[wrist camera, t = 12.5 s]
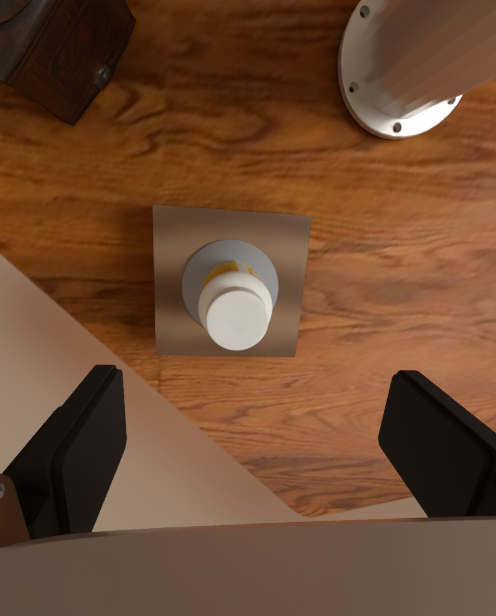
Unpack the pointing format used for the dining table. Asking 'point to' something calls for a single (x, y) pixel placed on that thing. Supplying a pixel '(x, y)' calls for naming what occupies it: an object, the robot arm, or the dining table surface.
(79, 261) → the dining table surface
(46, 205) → the dining table surface
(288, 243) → the walnut plinth
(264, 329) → the supplement bottle
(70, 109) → the pepper mill
